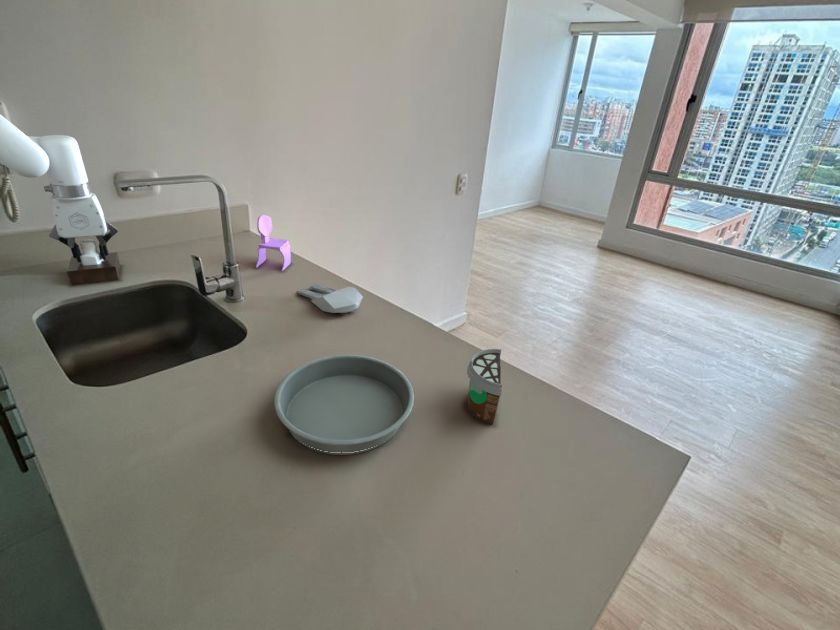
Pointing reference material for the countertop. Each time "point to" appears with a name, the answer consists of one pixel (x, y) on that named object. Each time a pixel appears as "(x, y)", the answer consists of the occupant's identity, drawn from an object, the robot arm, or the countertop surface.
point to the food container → (484, 384)
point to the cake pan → (344, 403)
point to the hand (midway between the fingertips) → (92, 258)
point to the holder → (94, 271)
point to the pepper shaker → (90, 253)
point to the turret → (334, 298)
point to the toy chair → (271, 242)
